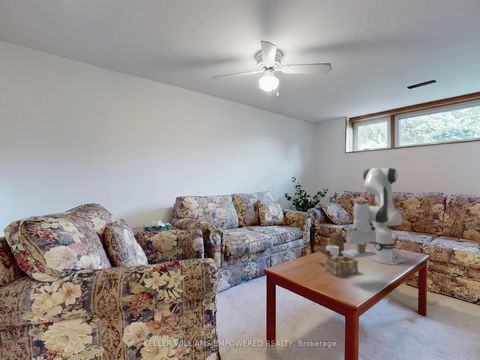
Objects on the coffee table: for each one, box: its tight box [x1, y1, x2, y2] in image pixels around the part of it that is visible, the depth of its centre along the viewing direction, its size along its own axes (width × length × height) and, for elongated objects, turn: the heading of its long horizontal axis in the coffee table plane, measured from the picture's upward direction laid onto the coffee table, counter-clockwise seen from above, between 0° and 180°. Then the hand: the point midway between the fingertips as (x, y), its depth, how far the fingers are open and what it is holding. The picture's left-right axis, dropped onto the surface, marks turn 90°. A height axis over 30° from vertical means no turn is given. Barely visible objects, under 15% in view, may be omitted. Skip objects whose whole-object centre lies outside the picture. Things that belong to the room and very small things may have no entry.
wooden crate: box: [324, 254, 359, 278], centre depth 159 cm, size 18×13×10 cm
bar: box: [313, 244, 330, 256], centre depth 171 cm, size 2×15×3 cm, turn 18°
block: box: [328, 231, 345, 257], centre depth 186 cm, size 11×8×20 cm
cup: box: [325, 244, 339, 258], centre depth 176 cm, size 9×9×12 cm
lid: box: [341, 243, 376, 259], centre depth 145 cm, size 18×10×6 cm, turn 108°
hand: (361, 249), depth 146 cm, fingers closed on lid, 3 cm apart
